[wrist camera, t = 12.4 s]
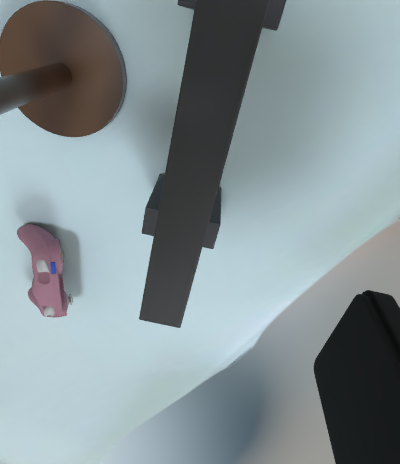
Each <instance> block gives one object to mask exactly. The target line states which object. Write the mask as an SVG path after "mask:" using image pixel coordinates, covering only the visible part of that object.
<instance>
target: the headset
mask: <svg viewBox="0 0 400 464" xmlns="http://www.w3.org/2000/svg"><path fill="white" fill-rule="evenodd" d="M285 2H286V0H178V5H179V6H183V7H186V8H190V9H193V10H195V11H194V16H193V22H192V27H191V33H190V38H189V44H188V49H187V55H186V61H185V66H184V72H183V77H182V83H181V88H180V94H179V100H178V105H177V111H176V116H175V122H174V127H173V133H172V138H171V144H170V150H169V155H168V161H167V166H166V172H165V175H164V174H160V175H159V177H158V180H157V182H156V185H155V187H154V189H153V192H152V194H151V196H150V199H149V201H148V203H147V206H146V209H145V215H144V221H143V228H142V234H147V235H151V236H154V239H153V244H152V250H151V255H150V261H149V266H148V272H147V278H146V283H145V289H144V294H143V300H142V305H141V311H140V317H139V319H140V320H144V321H149V322H154V323H158V324H163V325H168V326H173V327H178V328H180V327H181V323H182V320H183V316H184V312H185V309H186V305H187V301H188V298H189V294H190V290H191V286H192V283H193V279H194V275H195V272H196V268H197V264H198V261H199V257H200V253H201V250H202V247H206V248H210V249H213V248H214V244H215V241H216V238H217V234H218V231H219V227H220V220H221V188H220V187H219V184H220V180H221V176H222V173H223V169H224V165H225V162H226V158H227V154H228V151H229V147H230V143H231V140H232V136H233V132H234V129H235V125H236V121H237V118H238V114H239V110H240V107H241V103H242V99H243V96H244V92H245V88H246V84H247V81H248V77H249V73H250V70H251V66H252V62H253V59H254V55H255V51H256V48H257V44H258V40H259V37H260V33H261V29H262V28H266V29H271V30H275V31H276V30H277V29H278V26H279V23H280V19H281V16H282V13H283V9H284V6H285Z"/></svg>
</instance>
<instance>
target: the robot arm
mask: <svg viewBox="0 0 400 464" xmlns="http://www.w3.org/2000/svg"><path fill="white" fill-rule="evenodd" d="M314 373H315V378H316V382H317V387H318V391H319V395H320V399H321V404H322V408H323V412H324V416H325V420H326V425H327V429H328V433H329V437H330V442H331V446H332V450H333V454H334V458H335V462H336V464H400V308H399V306H398V305H397V303H396V301H395V299H394V298H393V297H392V296H391V295H388V294H384V293H379V292H374V291H370V290H367V291H365V292H363V293H362V294H358V295H356V296H355V298H354V299H353V301H352V302H351V304H350V305H349V307H348V309H347V310H346V312H345V314H344V315H343V317H342V318H341V320H340V321H339V323H338V324H337V326H336V328H335V329H334V331H333V332H332V334H331V336H330V337H329V339H328V340H327V342H326V343H325V345H324V347H323V348H322V350H321V352H320V353H319V355H318V356H317V358H316V360H315V363H314Z"/></svg>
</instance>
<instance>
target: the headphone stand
mask: <svg viewBox="0 0 400 464" xmlns="http://www.w3.org/2000/svg"><path fill="white" fill-rule="evenodd" d="M0 72H1V76H2V77H0V114H3V113H5V112H8V111H10V110H12V109H15V108H17V107H18V108H19V109H20V111H21V112H22V113H23V114H24V115H25V116H26V117H27V118H29V119H30V120H31V121H32V122H34V123H35V124H36V125H38V126H39V127H41V128H43V129H45V130H47V131H49V132H51V133H54V134H57V135H61V136H66V137H82V136H86V135H90V134H93V133H95V132H97V131H99V130H100V129H102V128H103V127H104V126H106V125H107V124H108V123H109V122H110V121H111V120H112V119H113V118H114V117H115V116H116V114H117V113H118V111H119V109H120V107H121V105H122V103H123V100H124V96H125V91H126V70H125V65H124V61H123V58H122V55H121V52H120V50H119V48H118V45H117V44H116V42H115V40H114V38H113V37H112V35H111V34H110V33H109V31H108V30H107V29H106V27H105V26H104V25H103V24H102V23H101V22H100V21H99V20H98V19H96V18H95V17H94V16H93V15H91V14H90V13H88V12H87V11H85V10H84V9H82V8H80V7H78V6H75V5H72V4H69V3H65V2H59V1H38V2H34V3H30V4H28V5H26V6H24V7H22V8H20V9H19V10H18V11H16V12H15V13H14V14H13V15H12V16H11V18H10V19H9V20H8V22H7V23H6V25H5V27H4V29H3V31H2V34H1V37H0Z"/></svg>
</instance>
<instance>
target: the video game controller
mask: <svg viewBox="0 0 400 464" xmlns="http://www.w3.org/2000/svg"><path fill="white" fill-rule="evenodd" d="M17 235H18V237H19V239H20V240H21V241H22V242H23V243H24V244H25V245H26V246H27V247H28V248H29V250H30V252H31V255H32V268H33V275H34V277H33V282H32V287H31V288H30V289H29V291H28V296H29V298H30V300H31V301H32V302H33V303H34V304H35V305H36V306H37V307H38V308H39V309H40V311H41V314H42V315H43V316H44V317H45V316H47V317H62V316H67V312H66V311H67V308H68V305H69V302H70V303H71V305H72V302H73V297H72V295H71V294H69V295H70V297H69V296H68V295H67V294H66V292H65V291H64V287H63V280H62V273H63V270H62V268H63V267H62V264H63V258H64V253H63V252H62V250H61V249H60V245H59V240H56V239H55V238H54V237H53V236H52V235H51V234H50V233H49V232H48V231H46V230H45V229H43V228H41V227H39V226H36V225H33V224H26V225H23V226H21V227H20V228H19V229H18V231H17Z"/></svg>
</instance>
